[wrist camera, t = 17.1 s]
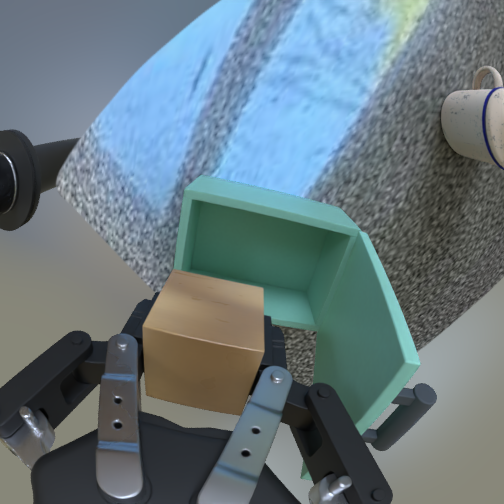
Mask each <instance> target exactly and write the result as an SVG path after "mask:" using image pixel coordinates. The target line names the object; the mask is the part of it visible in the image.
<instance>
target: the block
mask: <svg viewBox="0 0 504 504" xmlns="http://www.w3.org/2000/svg"><path fill="white" fill-rule="evenodd" d="M142 327H143V358H144V375H145V389H146V395H147V396H150V397H153V398H157V399H161V400H164V401H168V402H172V403H177V404H181V405H185V406H190V407H195V408H199V409H204V410H209V411H215V412H220V413H226V414H233V415H239V416H240V415H241V414H242V412H243V409H244V406H245V404H246V401H247V399H248V396H249V393H250V391H251V388H252V385H253V383H254V380H255V377H256V375H257V372H258V369H259V366H260V363H261V361H262V358H263V355H264V352H265V345H264V289H263V288H262V287H257V286H252V285H247V284H242V283H238V282H233V281H228V280H223V279H218V278H214V277H209V276H204V275H200V274H195V273H190V272H186V271H181V270H177V269H173V270H172V272H171V274H170V276H169V277H168V279H167V281H166V283H165V285H164V286H163V288H162V290H161V292H160V294H159V296H158V297H157V299H156V301H155V303H154V305H153V307H152V309H151V310H150V312H149V314H148V316H147V318H146V320H145V322H144V324H143V326H142Z"/></svg>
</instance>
